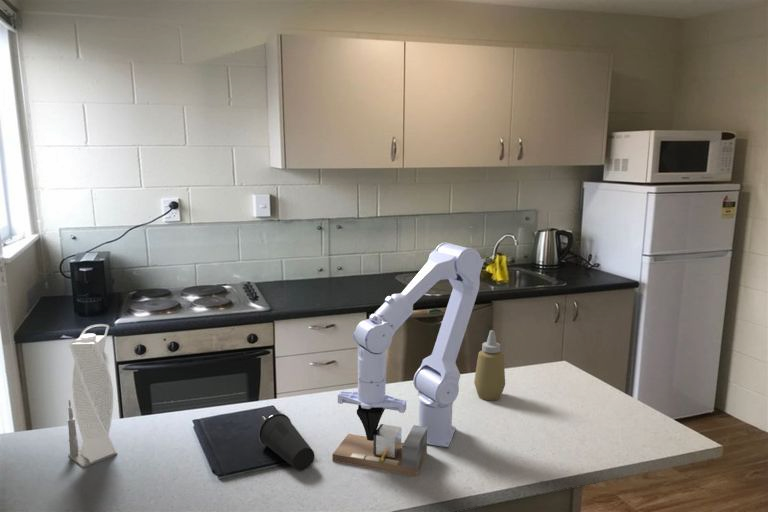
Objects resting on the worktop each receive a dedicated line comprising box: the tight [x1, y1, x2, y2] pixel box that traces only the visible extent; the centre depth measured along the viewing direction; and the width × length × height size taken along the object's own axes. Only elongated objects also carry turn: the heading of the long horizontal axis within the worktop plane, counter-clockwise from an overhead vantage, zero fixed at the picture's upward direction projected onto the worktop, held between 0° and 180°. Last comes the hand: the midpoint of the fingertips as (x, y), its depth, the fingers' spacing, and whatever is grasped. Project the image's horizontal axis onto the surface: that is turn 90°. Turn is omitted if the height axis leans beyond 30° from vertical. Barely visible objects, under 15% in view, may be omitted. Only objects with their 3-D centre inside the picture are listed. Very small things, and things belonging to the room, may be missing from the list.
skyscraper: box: [67, 323, 118, 469], centre depth 119 cm, size 8×8×28 cm
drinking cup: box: [258, 412, 315, 472], centre depth 123 cm, size 8×8×20 cm
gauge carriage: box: [373, 423, 403, 461], centre depth 120 cm, size 7×5×4 cm, turn 163°
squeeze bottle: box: [473, 329, 506, 401], centre depth 151 cm, size 8×8×18 cm
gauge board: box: [331, 424, 428, 477], centre depth 121 cm, size 9×18×6 cm, turn 73°
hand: (371, 438), depth 122 cm, fingers closed
